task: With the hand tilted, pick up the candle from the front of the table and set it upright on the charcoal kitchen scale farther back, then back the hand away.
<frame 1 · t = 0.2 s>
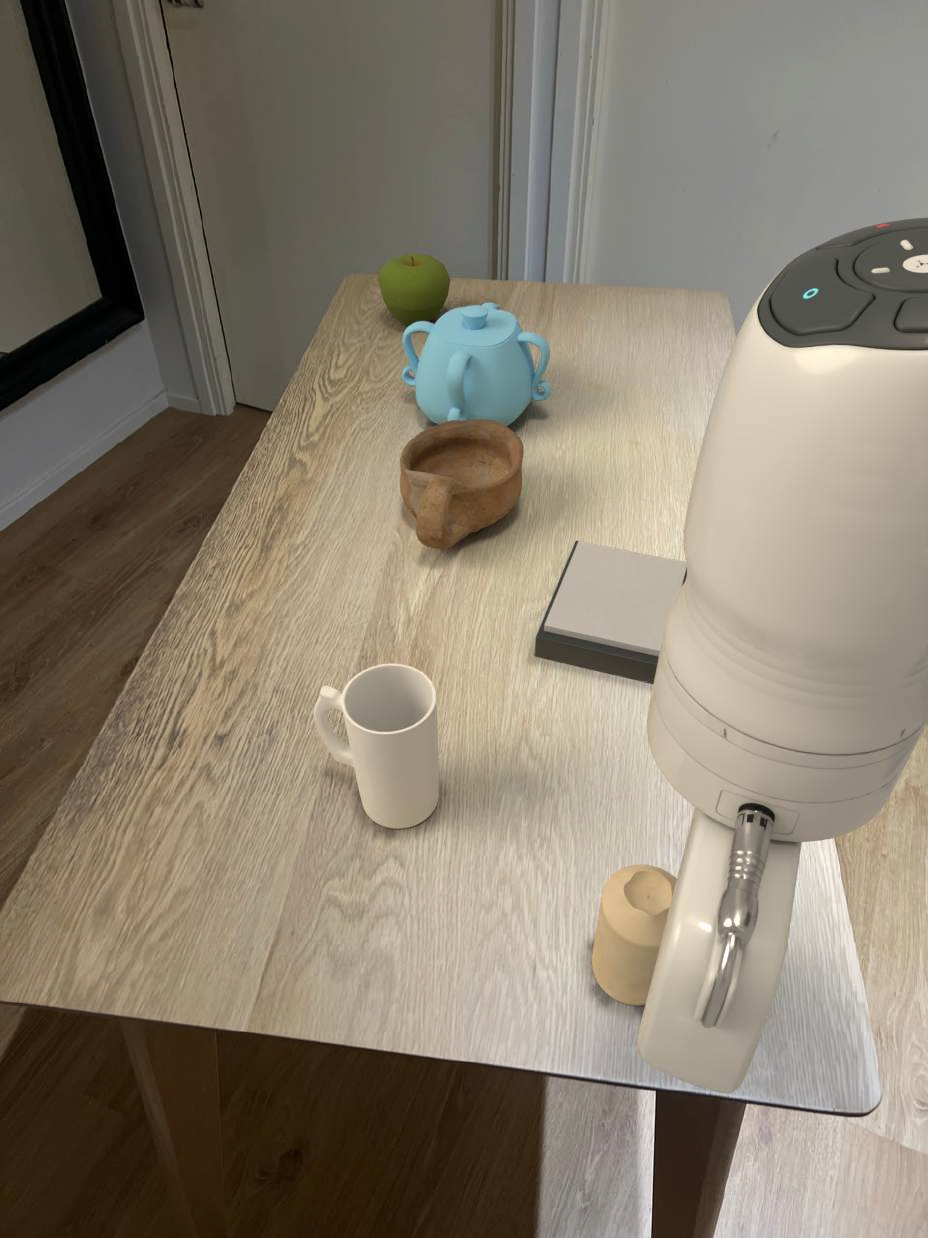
hand: (709, 913, 41), 21 cm above the table, tool pointing down, fingers open, 8 cm apart
scale: (630, 621, 86), on the table
apple: (416, 322, 135), on the table
bowl: (460, 522, 98), on the table
decorative pot: (476, 411, 115), on the table
mug: (382, 792, 72), on the table
candle: (631, 968, 61), on the table
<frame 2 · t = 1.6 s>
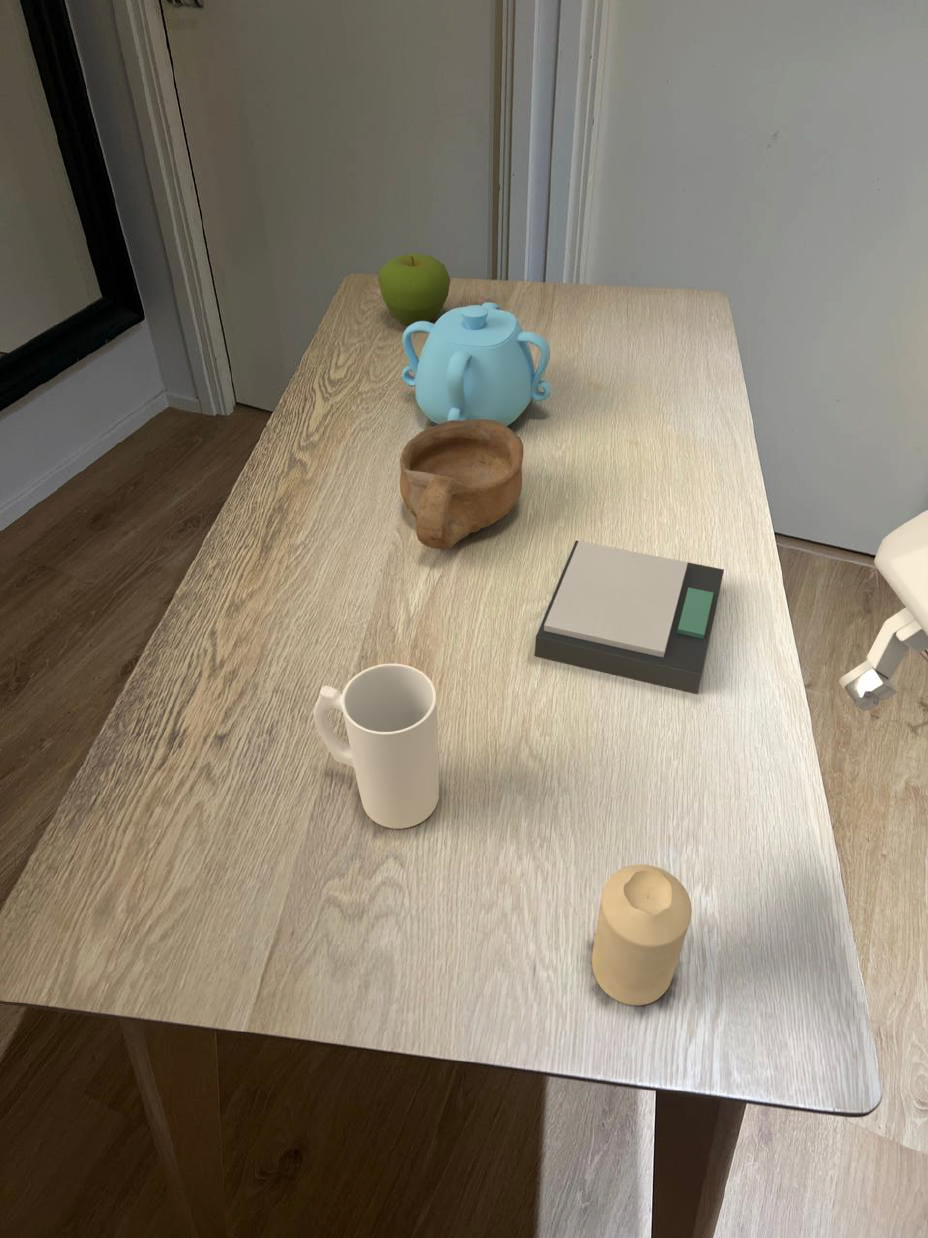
hand: (903, 778, 41), 26 cm above the table, tool tilted 45°, fingers open, 8 cm apart
nothing on the table moved.
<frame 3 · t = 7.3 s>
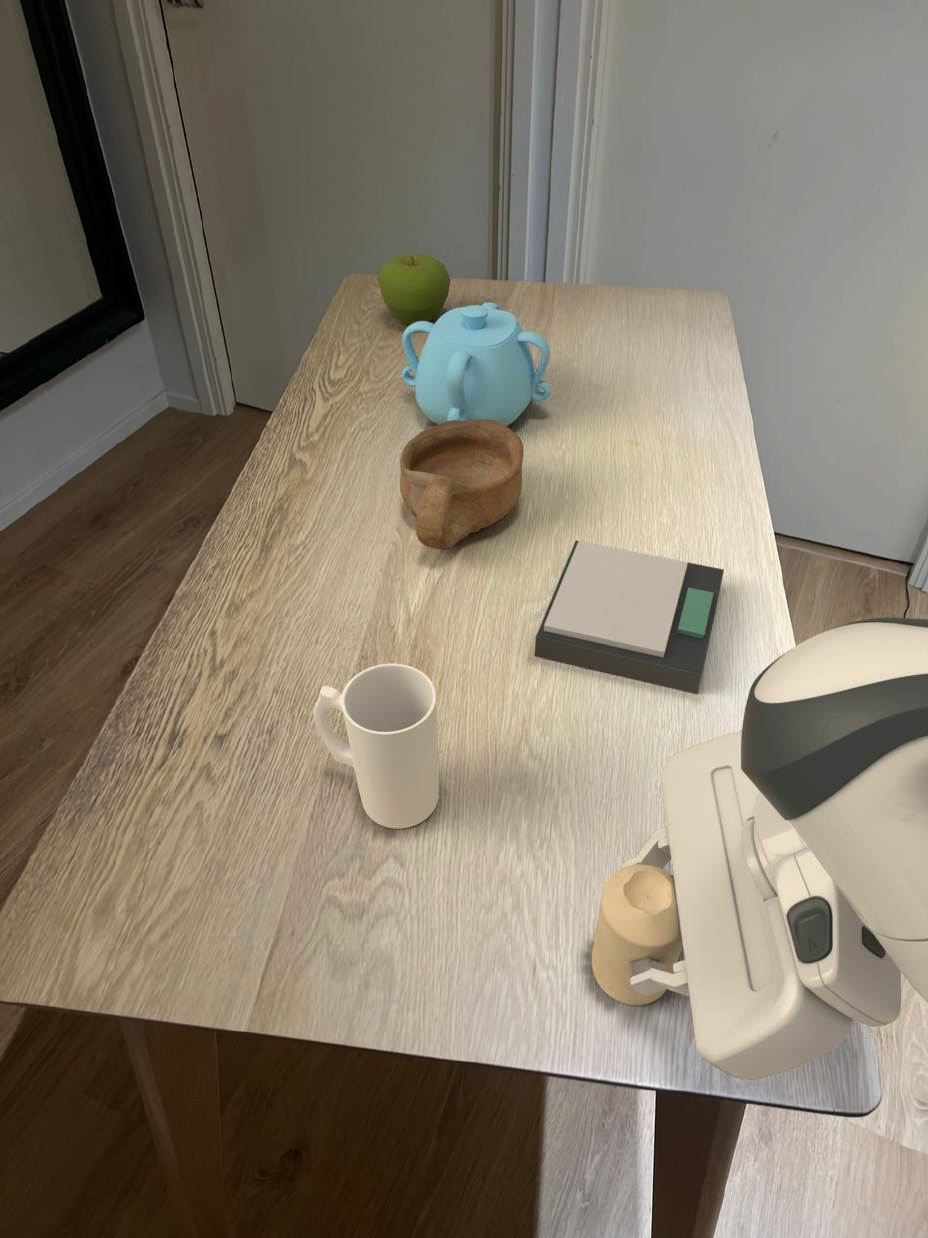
hand: (630, 928, 57), 5 cm above the table, tool tilted 45°, fingers closed on candle, 5 cm apart
candle: (630, 968, 61), on the table, touching gripper
everything else where it was.
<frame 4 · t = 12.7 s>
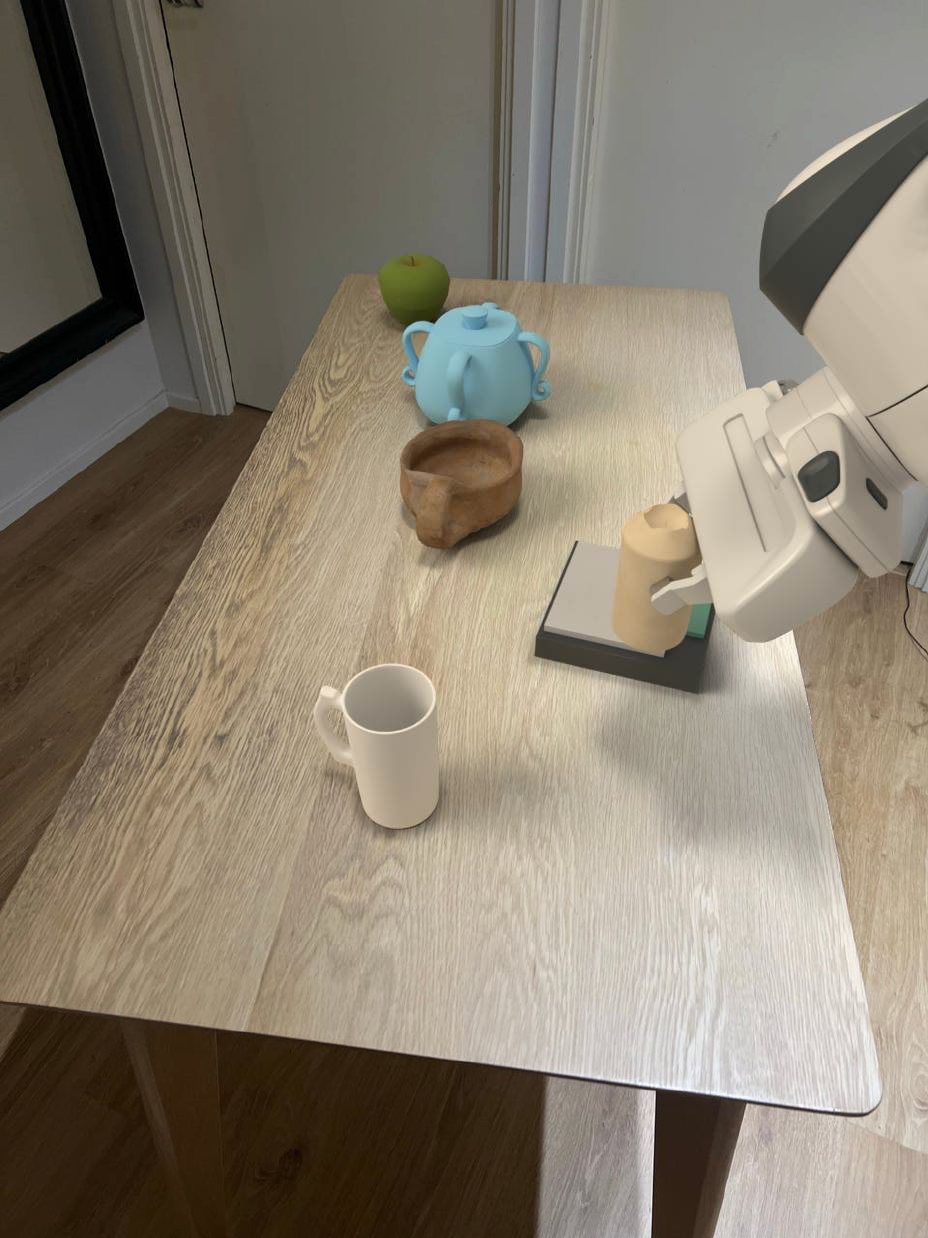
hand: (649, 570, 61), 19 cm above the table, tool tilted 45°, fingers closed on candle, 5 cm apart
candle: (648, 628, 65), point 14 cm above the table, touching gripper
everything else where it was.
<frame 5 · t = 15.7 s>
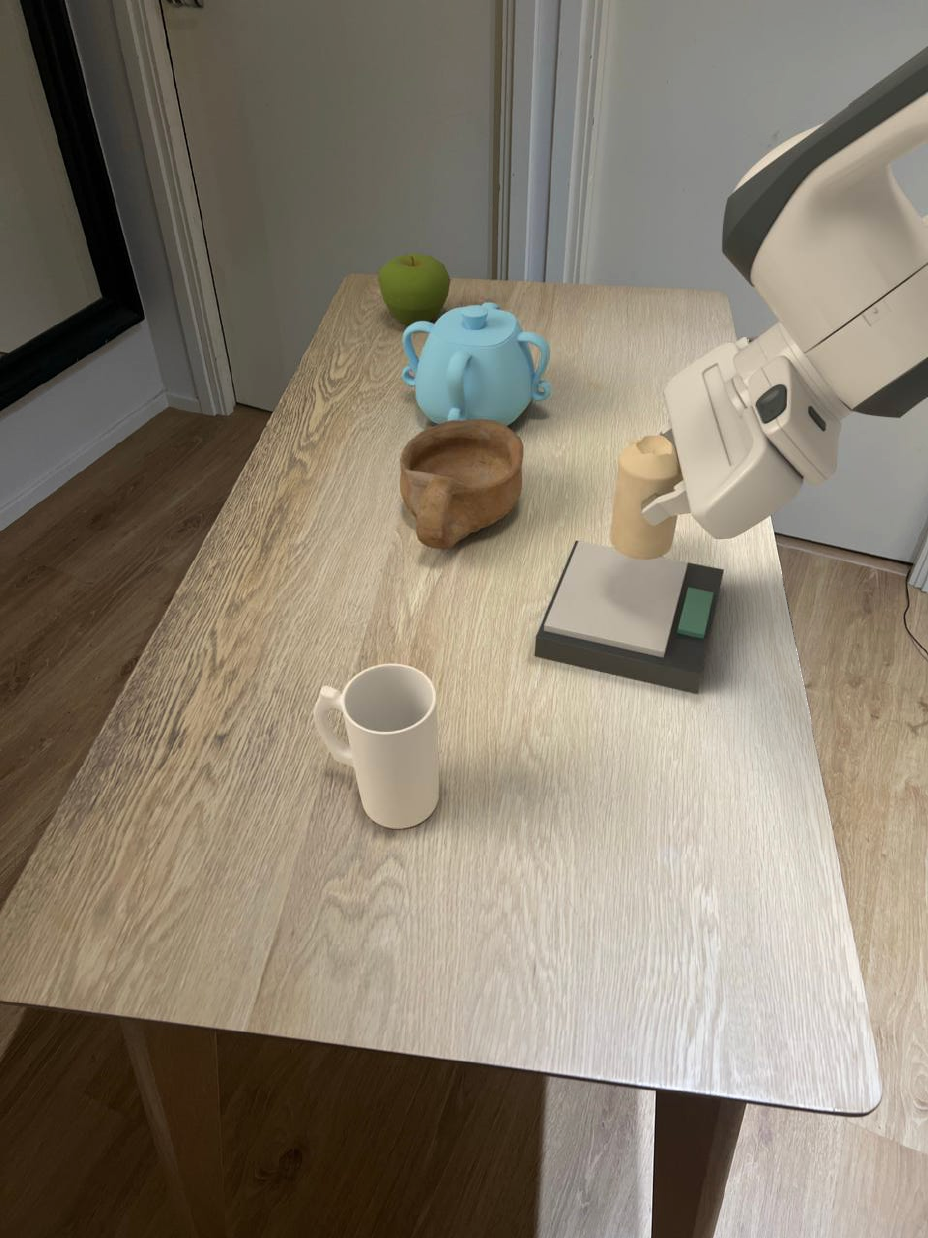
hand: (641, 492, 75), 15 cm above the table, tool tilted 45°, fingers closed on candle, 5 cm apart
candle: (640, 542, 79), point 10 cm above the table, touching gripper
everything else where it was.
when the fingers open (9 cm above the table, at t = 18.0 s): candle stays where it is, resting on scale.
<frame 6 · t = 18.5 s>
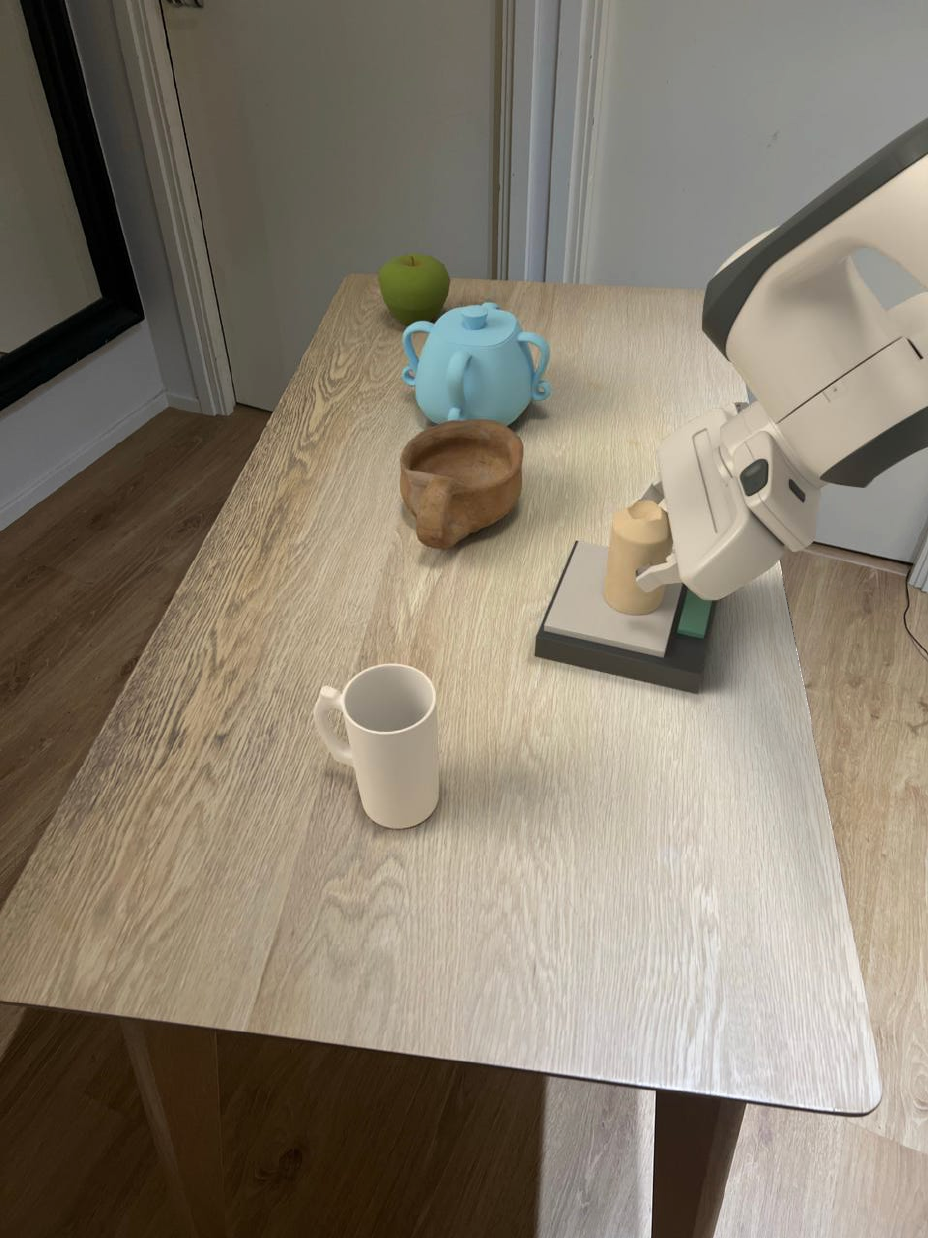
hand: (634, 548, 80), 9 cm above the table, tool tilted 45°, fingers open, 8 cm apart
candle: (632, 597, 84), point 3 cm above the table, touching scale
everything else where it was.
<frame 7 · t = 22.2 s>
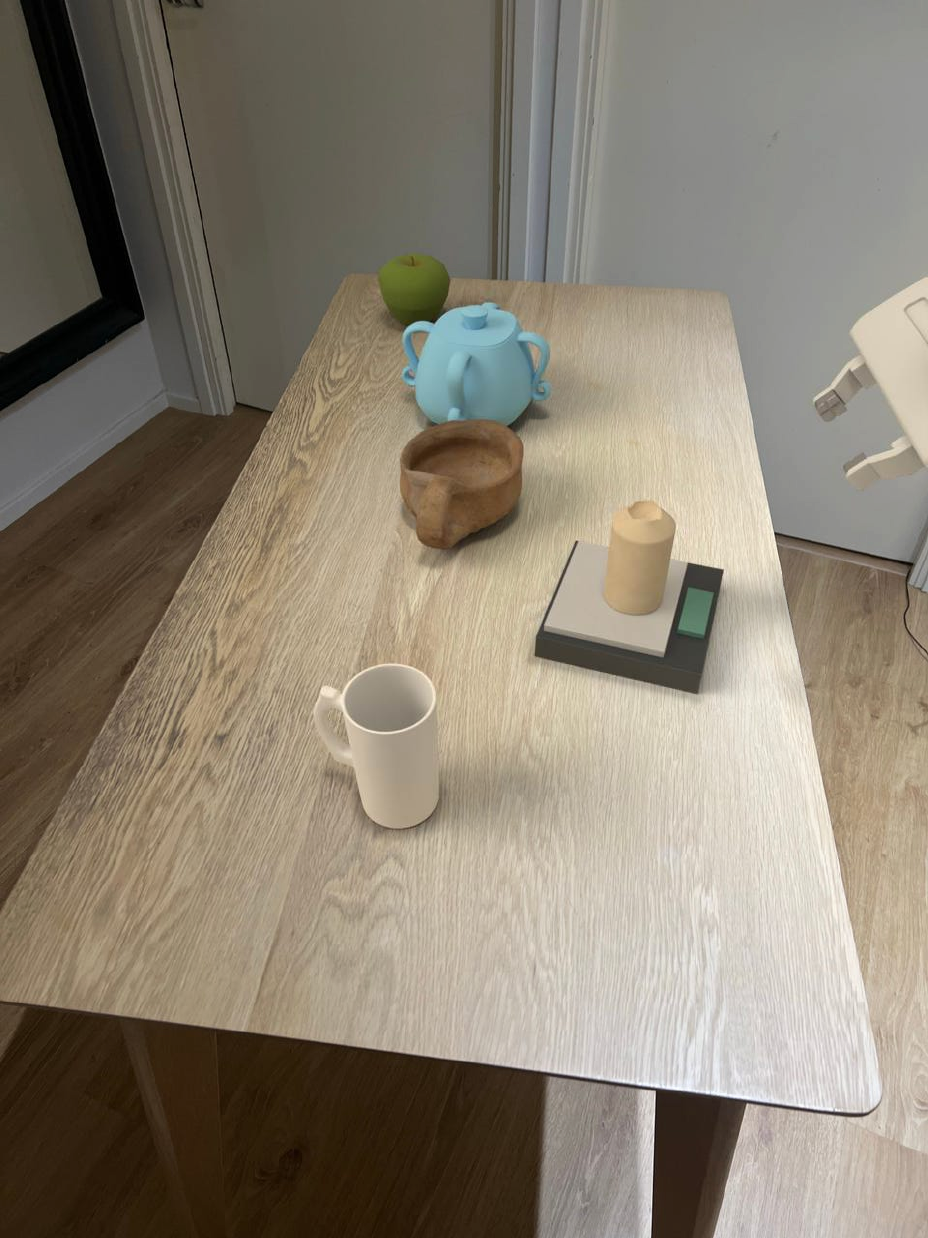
hand: (832, 444, 66), 23 cm above the table, tool tilted 45°, fingers open, 8 cm apart
nothing on the table moved.
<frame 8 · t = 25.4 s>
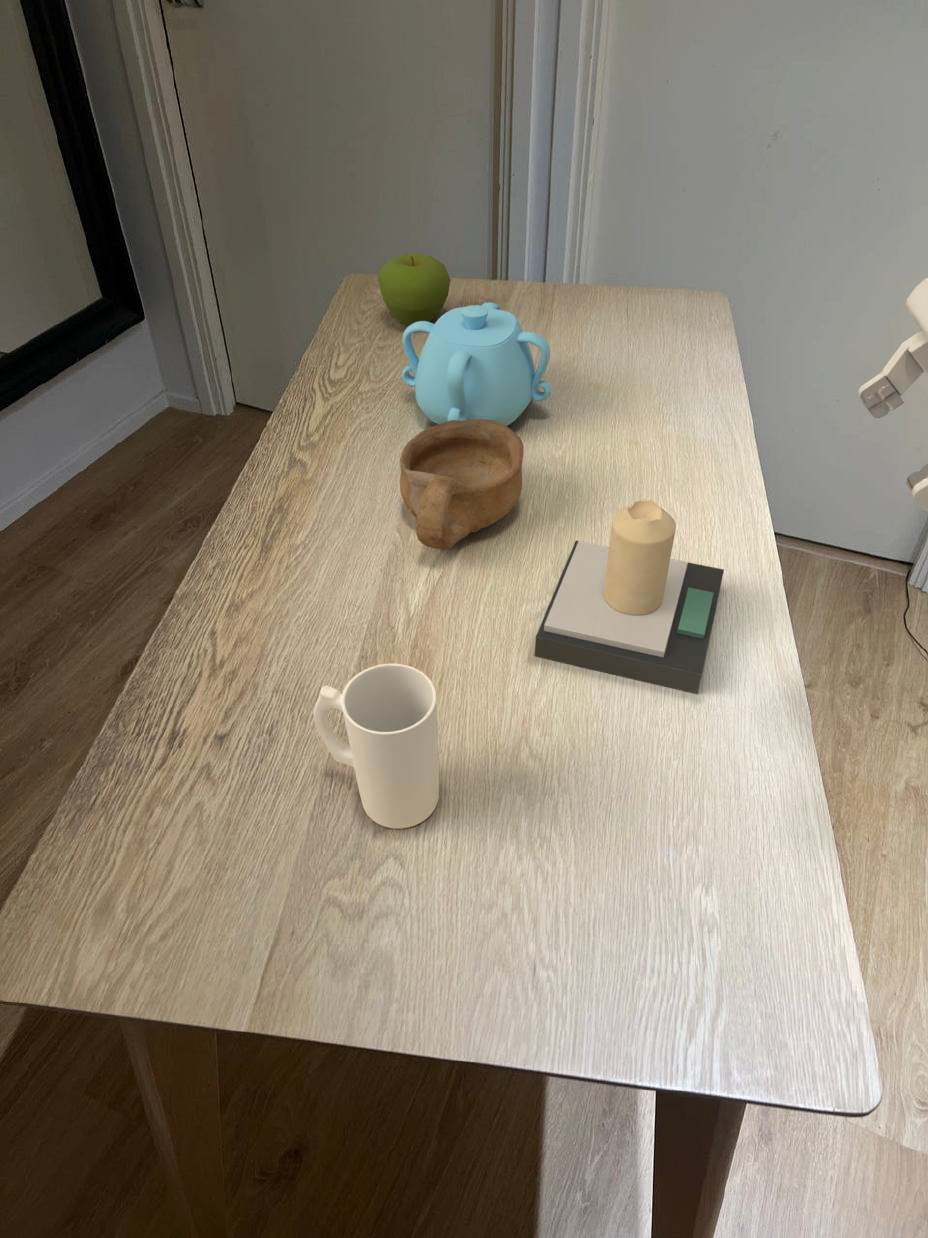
hand: (888, 448, 50), 31 cm above the table, tool tilted 45°, fingers open, 8 cm apart
nothing on the table moved.
at the end: candle inside the target area on the scale (0.7 cm from its centre), point 3.1 cm above the scale's base; candle tilted 0°; the gripper is holding nothing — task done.
